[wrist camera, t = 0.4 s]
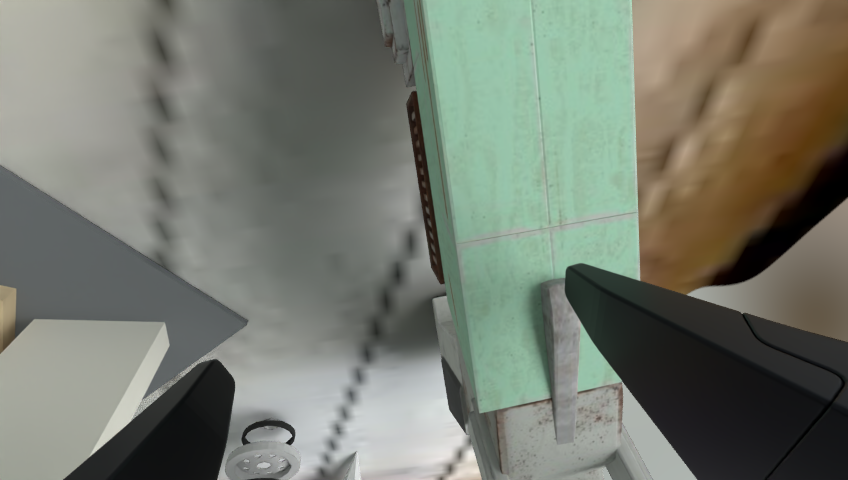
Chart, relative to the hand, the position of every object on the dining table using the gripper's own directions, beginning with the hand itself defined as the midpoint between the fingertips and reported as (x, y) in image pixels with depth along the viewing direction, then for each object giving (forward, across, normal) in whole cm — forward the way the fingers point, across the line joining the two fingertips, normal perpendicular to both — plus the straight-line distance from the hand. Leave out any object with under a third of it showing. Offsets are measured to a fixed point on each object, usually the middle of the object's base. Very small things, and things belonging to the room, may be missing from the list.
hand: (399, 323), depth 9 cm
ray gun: (+14, +4, -2) cm, 15 cm away
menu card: (+13, -20, -8) cm, 25 cm away
